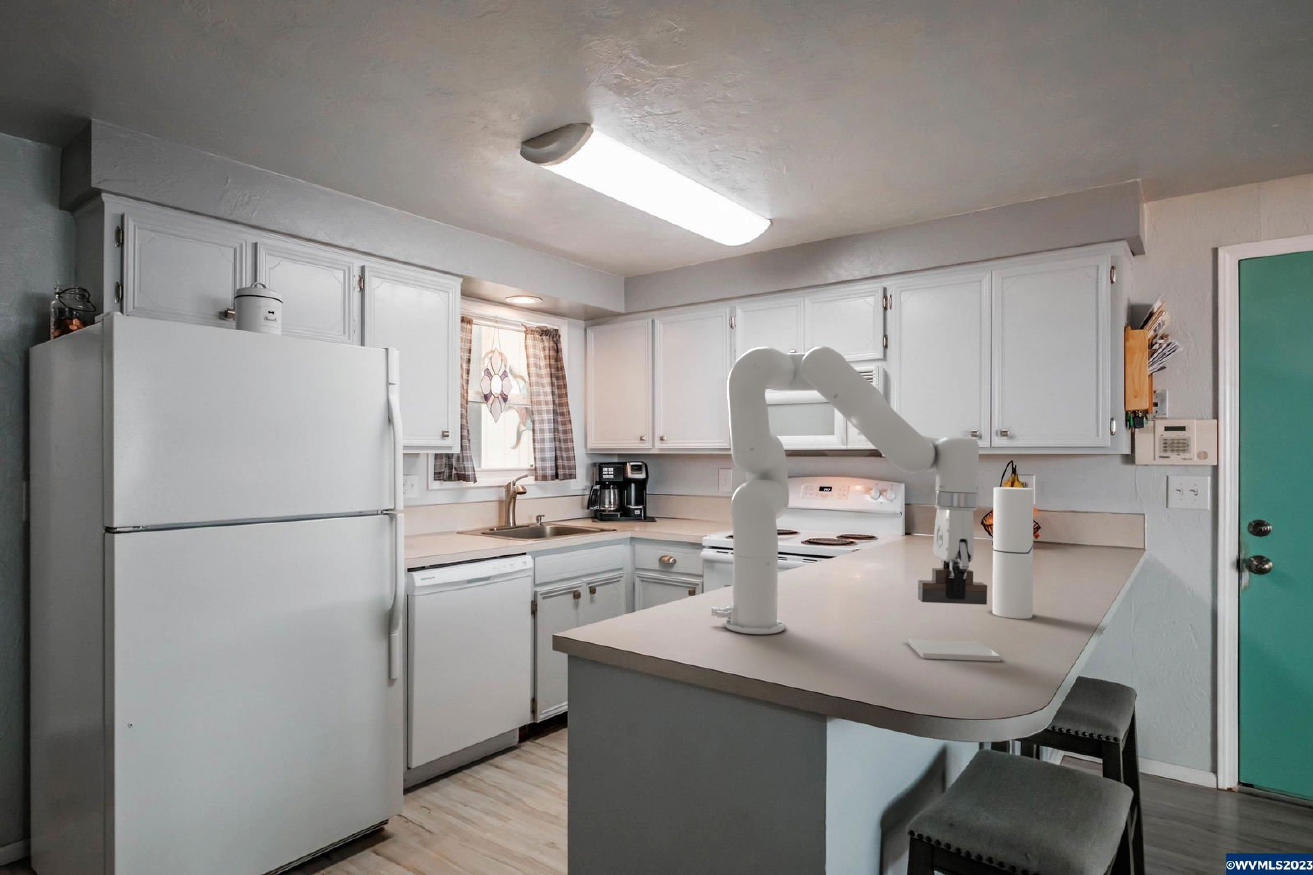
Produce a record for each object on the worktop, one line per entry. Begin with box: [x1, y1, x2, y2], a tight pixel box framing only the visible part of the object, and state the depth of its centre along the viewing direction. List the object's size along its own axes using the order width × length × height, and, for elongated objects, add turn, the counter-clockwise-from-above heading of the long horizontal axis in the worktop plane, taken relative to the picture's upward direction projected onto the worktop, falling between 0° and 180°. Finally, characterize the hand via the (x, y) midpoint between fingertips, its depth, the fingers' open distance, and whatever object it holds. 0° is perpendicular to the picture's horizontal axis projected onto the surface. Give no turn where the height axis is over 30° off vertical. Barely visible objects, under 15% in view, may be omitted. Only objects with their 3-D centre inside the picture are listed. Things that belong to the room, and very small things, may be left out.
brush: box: [917, 567, 988, 606], centre depth 142 cm, size 12×3×6 cm, turn 86°
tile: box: [908, 638, 1002, 662], centre depth 142 cm, size 14×10×1 cm
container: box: [991, 486, 1035, 620], centre depth 176 cm, size 9×9×30 cm
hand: (952, 596), depth 142 cm, fingers closed on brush, 3 cm apart
